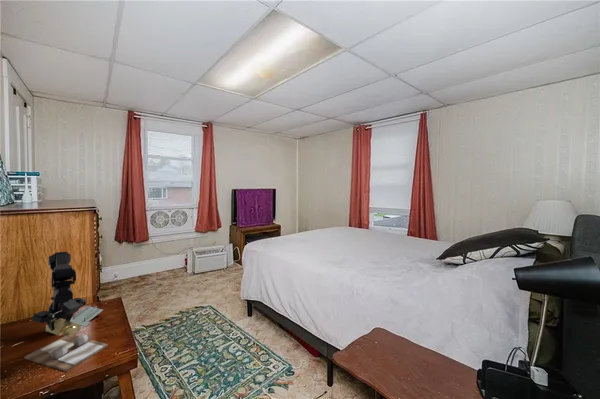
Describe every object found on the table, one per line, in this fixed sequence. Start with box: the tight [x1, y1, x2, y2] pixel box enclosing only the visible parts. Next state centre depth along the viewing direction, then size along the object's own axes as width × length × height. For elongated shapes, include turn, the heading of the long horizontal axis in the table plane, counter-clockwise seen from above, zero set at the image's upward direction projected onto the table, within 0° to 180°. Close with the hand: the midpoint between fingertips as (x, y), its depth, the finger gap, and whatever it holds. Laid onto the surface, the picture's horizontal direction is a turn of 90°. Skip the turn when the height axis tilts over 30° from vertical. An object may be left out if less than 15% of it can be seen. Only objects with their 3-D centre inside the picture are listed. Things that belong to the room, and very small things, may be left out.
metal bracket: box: [65, 305, 104, 328], centre depth 143 cm, size 14×6×15 cm
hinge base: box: [23, 334, 109, 372], centre depth 116 cm, size 24×18×5 cm
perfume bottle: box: [44, 318, 81, 337], centre depth 117 cm, size 13×6×4 cm, turn 79°
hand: (60, 326), depth 117 cm, fingers closed on perfume bottle, 6 cm apart
